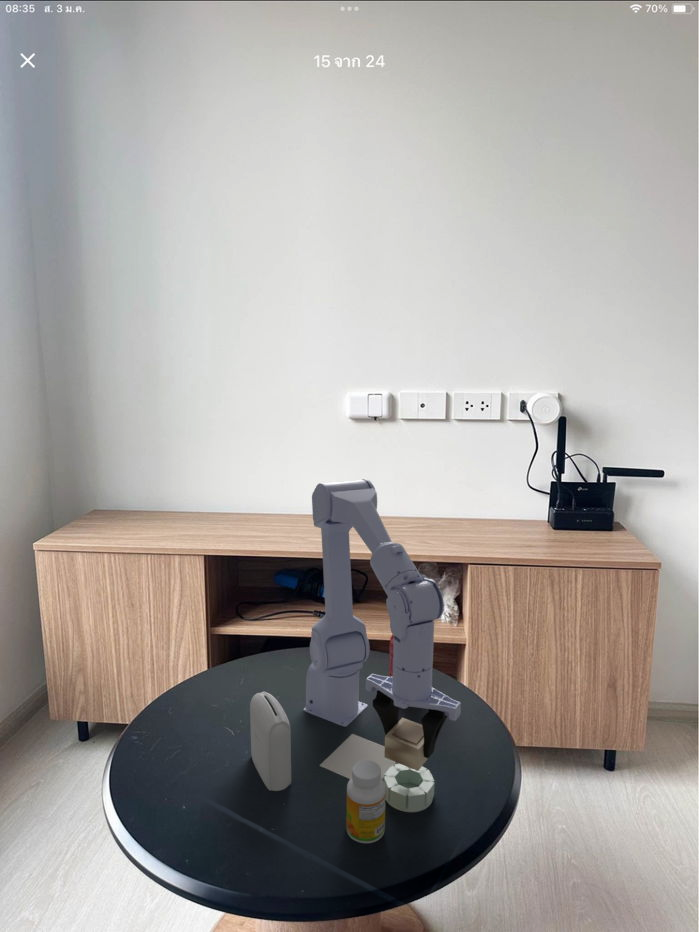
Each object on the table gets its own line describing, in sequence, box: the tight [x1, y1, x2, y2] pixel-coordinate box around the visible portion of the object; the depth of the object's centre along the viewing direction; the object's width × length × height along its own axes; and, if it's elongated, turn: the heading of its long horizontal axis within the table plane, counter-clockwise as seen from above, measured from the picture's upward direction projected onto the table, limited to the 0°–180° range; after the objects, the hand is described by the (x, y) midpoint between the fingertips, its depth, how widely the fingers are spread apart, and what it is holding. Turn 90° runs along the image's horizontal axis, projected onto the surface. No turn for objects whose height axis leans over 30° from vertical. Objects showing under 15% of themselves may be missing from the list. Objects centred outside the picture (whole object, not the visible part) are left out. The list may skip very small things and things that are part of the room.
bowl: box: [383, 763, 435, 813], centre depth 94 cm, size 7×7×3 cm
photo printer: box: [249, 691, 292, 792], centre depth 98 cm, size 10×4×12 cm, turn 26°
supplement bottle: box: [345, 760, 386, 844], centre depth 87 cm, size 5×5×10 cm
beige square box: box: [384, 717, 429, 771], centre depth 92 cm, size 6×6×4 cm
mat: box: [319, 733, 397, 780], centre depth 102 cm, size 10×10×1 cm
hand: (410, 746), depth 93 cm, fingers closed on beige square box, 5 cm apart
